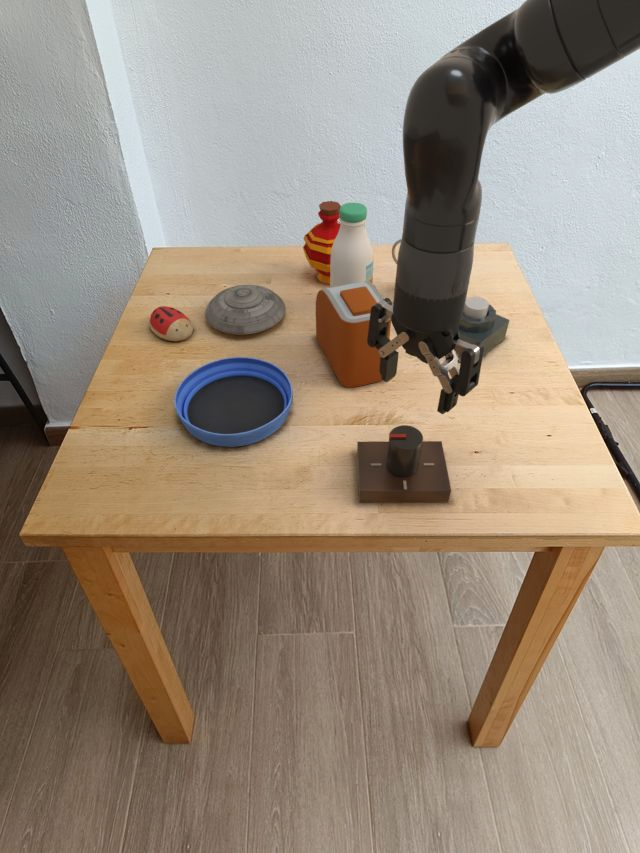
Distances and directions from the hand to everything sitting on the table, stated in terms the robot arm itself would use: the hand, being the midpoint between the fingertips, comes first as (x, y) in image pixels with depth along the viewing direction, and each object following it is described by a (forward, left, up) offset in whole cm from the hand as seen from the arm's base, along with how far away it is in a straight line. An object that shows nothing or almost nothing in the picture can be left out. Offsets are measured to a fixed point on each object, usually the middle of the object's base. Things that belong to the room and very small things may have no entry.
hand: (415, 393), depth 72 cm
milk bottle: (+32, -25, -15) cm, 44 cm away
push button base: (+10, -32, -15) cm, 37 cm away
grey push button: (+10, -32, -9) cm, 35 cm away
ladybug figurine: (+52, +2, -15) cm, 55 cm away
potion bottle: (+43, -31, -15) cm, 56 cm away
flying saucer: (+45, -10, -15) cm, 49 cm away
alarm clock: (+22, -14, -15) cm, 30 cm away
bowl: (+27, +8, -15) cm, 32 cm away
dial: (0, +1, -12) cm, 12 cm away
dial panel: (0, +1, -15) cm, 15 cm away
